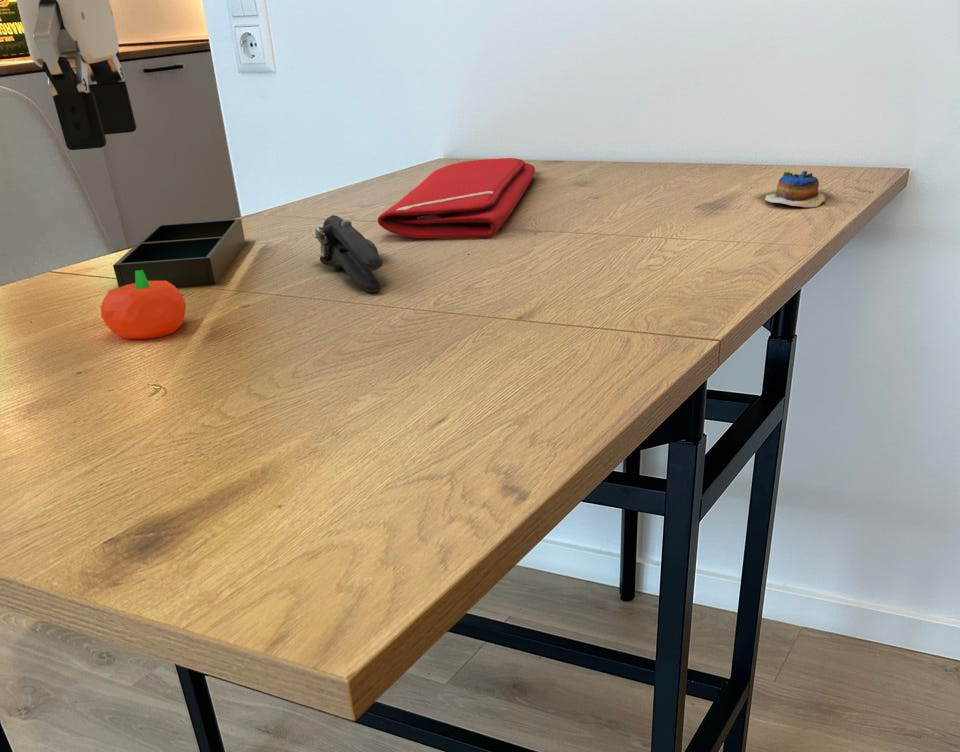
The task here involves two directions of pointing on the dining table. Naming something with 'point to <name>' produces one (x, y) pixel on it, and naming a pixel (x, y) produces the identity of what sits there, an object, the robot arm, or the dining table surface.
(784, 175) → the dessert
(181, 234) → the tray
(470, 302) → the dining table surface
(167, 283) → the pumpkin
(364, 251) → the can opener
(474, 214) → the red felt clutch
